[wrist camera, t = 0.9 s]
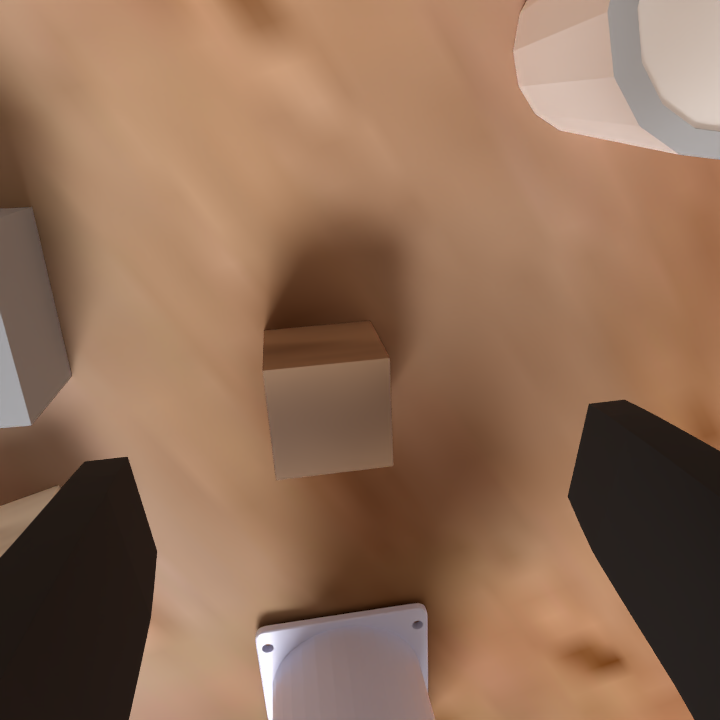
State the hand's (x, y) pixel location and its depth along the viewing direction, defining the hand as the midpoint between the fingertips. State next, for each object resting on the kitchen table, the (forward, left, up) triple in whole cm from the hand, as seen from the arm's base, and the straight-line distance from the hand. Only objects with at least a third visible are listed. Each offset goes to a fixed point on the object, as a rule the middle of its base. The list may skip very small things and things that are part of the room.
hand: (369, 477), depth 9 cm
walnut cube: (-4, 0, -13) cm, 13 cm away
